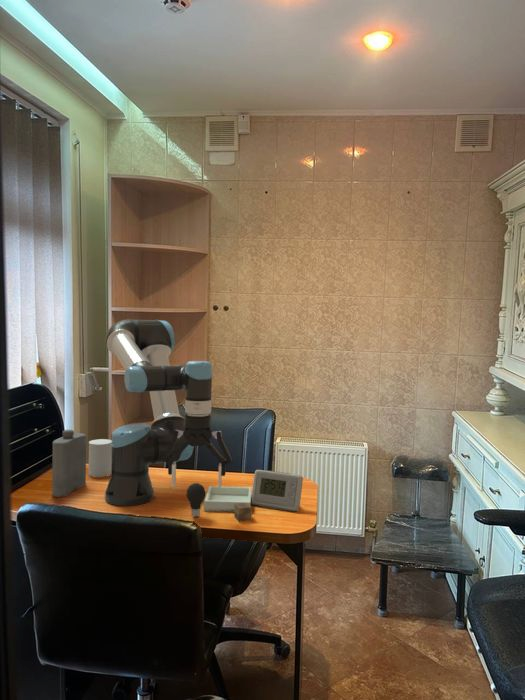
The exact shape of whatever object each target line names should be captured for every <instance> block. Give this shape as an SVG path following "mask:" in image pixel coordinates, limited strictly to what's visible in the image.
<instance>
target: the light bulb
mask: <svg viewBox="0 0 525 700" xmlns="http://www.w3.org/2000/svg"><path fill="white" fill-rule="evenodd" d="M185 493H186V498H187V501H188V502H189V505H190V509H191V516H192V517H193V518H197V517H198V516H200V514H201V506H202V503H204V501H205V498H206V494H207V492H206V489H205V487H204V485H203V484H201V483H198V482H195V483H192V484H190V485H189V486H188V487H187V489H186V492H185Z"/></svg>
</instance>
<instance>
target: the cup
mask: <svg viewBox="0 0 525 700" xmlns="http://www.w3.org/2000/svg"><path fill="white" fill-rule="evenodd" d="M111 443H112V439H106V438H99V439H92V440H89V441H88V474H89V475H90V476H89V475H88V476H89V477H91V476H94V477H93V478H104V477H103V476H106V477H108V476H107V475H109V474H111V459H112V446H111ZM109 476H110V475H109Z"/></svg>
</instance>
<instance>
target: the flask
mask: <svg viewBox="0 0 525 700" xmlns="http://www.w3.org/2000/svg"><path fill="white" fill-rule="evenodd" d="M51 470H52V473H51V474H52V475H51V478H52V480H51V481H52V482H51V483H52V484H51V486H52V488H51V490H52V493H51V494H52V496H53V497H55V498H62V497H63V498H64V497H66V496H68V495H69V494H70V493H72V492H73V491H75V490H77V489H79V487H80V488H82V487H84V486H86V483H87V477H86V475H87V474H86V473H87V435H86V433H81V432H79V433H78V432H77V433H75V431H74V430H73V429H64V430H63V431H62V436H61V437H59V438H57V439H54V440H53V441H52V469H51Z"/></svg>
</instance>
